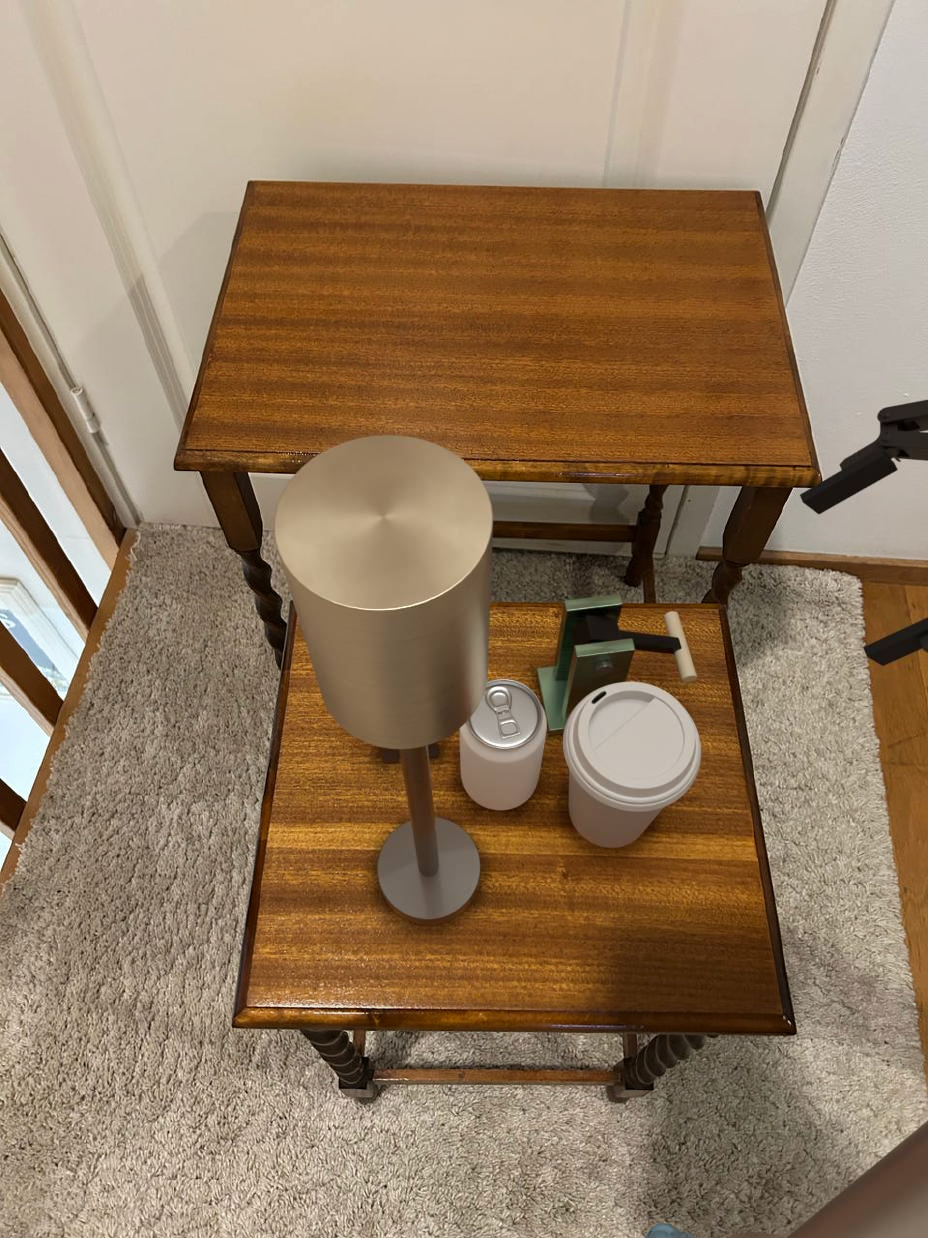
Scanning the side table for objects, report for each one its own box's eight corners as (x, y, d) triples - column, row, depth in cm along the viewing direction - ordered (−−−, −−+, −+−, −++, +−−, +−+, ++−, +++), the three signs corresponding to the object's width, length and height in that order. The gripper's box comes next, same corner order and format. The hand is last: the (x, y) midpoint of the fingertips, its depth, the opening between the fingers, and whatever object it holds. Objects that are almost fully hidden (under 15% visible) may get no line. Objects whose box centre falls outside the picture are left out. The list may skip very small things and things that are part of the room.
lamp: (501, 882, 73) (538, 532, 34) (419, 948, 71) (355, 652, 31) (439, 805, 76) (407, 403, 37) (358, 865, 74) (231, 502, 34)
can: (524, 730, 80) (532, 663, 69) (549, 800, 76) (561, 741, 66) (451, 750, 79) (448, 685, 69) (473, 821, 76) (473, 765, 65)
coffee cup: (638, 740, 79) (670, 654, 66) (687, 845, 74) (732, 775, 62) (532, 774, 78) (544, 693, 65) (575, 883, 73) (598, 819, 60)
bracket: (613, 664, 83) (635, 585, 72) (628, 725, 80) (654, 653, 69) (535, 674, 82) (546, 596, 72) (548, 736, 79) (561, 665, 68)
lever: (668, 623, 78) (684, 607, 76) (686, 687, 75) (704, 672, 73) (565, 609, 74) (580, 593, 72) (580, 676, 71) (597, 661, 69)
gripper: (1285, 600, 53) (925, 740, 65) (1077, 304, 66) (807, 467, 78) (1266, 558, 49) (880, 718, 60) (1046, 247, 61) (763, 430, 73)
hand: (838, 577), depth 69 cm, fingers open, 13 cm apart
